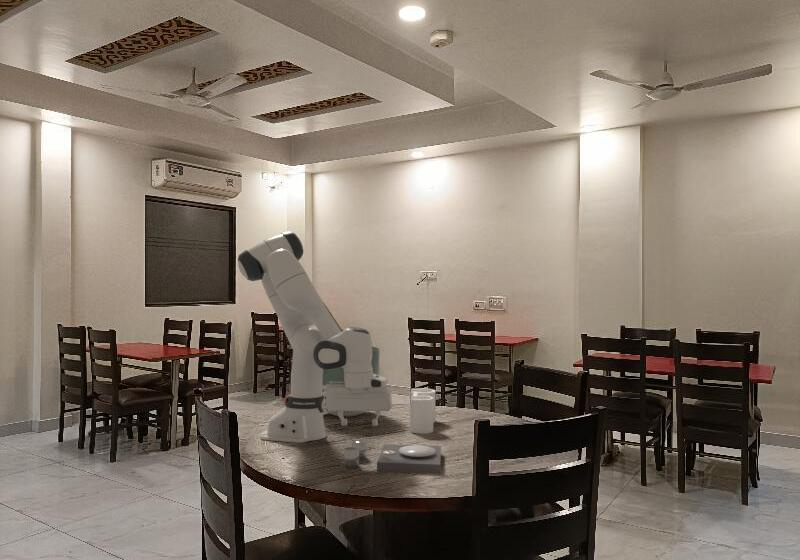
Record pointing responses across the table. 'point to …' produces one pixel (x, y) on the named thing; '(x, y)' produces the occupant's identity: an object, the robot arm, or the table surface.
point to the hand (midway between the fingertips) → (359, 425)
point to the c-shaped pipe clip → (422, 410)
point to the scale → (410, 459)
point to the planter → (339, 375)
